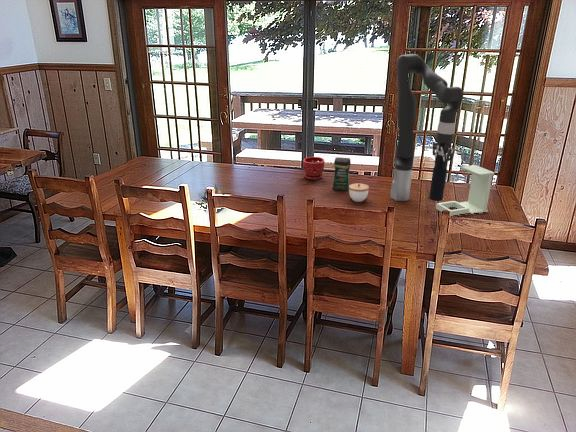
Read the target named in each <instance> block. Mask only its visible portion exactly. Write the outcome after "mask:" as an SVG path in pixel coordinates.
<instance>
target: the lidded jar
mask: <svg viewBox="0 0 576 432" xmlns="http://www.w3.org/2000/svg"><path fill="white" fill-rule="evenodd" d="M369 189H370V187H369V185H368V184H364V183H360V182H359V183H357V182H355V183H352V184H349V189H348V194H349V197H350V198H351V199H352V201H353V202H356V203H357V202H360V203H361V202H363V201H364V200H366V198H367V197H368V195H369Z"/></svg>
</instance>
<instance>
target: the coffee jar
mask: <svg viewBox="0 0 576 432" xmlns="http://www.w3.org/2000/svg"><path fill="white" fill-rule="evenodd" d="M351 164H352V163H351V158H350V157H341V156H340V157H335V159H334V162H333V166H334V176H333V182H332V188H333V189H334V190H338V191H348V190H349V185H350V168H351Z"/></svg>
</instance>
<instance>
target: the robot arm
mask: <svg viewBox="0 0 576 432" xmlns="http://www.w3.org/2000/svg"><path fill="white" fill-rule="evenodd" d="M413 74H416V75H418V76H421V78H422V81H423V84H424V86H425V87H426V88H428V89H429V90H430V91H431V92H433V93H434V95H435V97H436V98H437V99H438V100H439V102H440V103H442V104H446V105H447V106H445V107H444V108H441V110H440V113H439V121H438V125H437V130H436V131H437V132H436V137H435V138H436V139H435V140H436V142H433V143H432V155H433V156H434V165H435V164H436V162H437V160H438V154H439V151H441V152H442V156H443V163H442V168H443V169H446V168H447V169H448V165H449V161H450V162H452V160H453V157H454V154H455V151H456V150H455V148H452V146H451V144H452V143H453V142H454V136H455V130H456V122H457V121H456V120H457V114H458V112H459V109H460V107H461V104H462V102H463V100H464V99H463V98H464V92H463V89H462V88H461V87H459V86H449V85H448V82H447V81H446V79H445V78H442V77H441V76H440V75H438V74H437V72H435V71H434V70H433V69H432V68H431V67H430V66H429V65H428V64H427V63H426V62H425V60H423V58H422V57H421V56H419V54H416V53H410V54H408V53H407V54H401V55H399V57H398V58H397V60H396V81H397V105H396V109H397V112H396V113H397V114H396V115H397V126H398V135H397V137H398V138H397V143H396V152H395V159H394V160H395V162H394V171H393V180H392V181H391V187H390V198H391V199H392V200H393V201H395V202H397V201H398V202H406V201H409V200H410V195H411V185H412V183H411V182H412V173H413V166H414V155H415V149H416V148H415V146H416V145H415V142H414V130H415V129H414V128H415V122H416V115H417V99H416V97H415V94H414V92H413V91H412V89H411V87H410V83H409V82H410V81H409V76H410V75H413ZM448 86H449V87H448ZM440 143H444V146H442V147H441V146H440ZM440 149H441V150H440ZM445 156H446V158H445Z"/></svg>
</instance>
